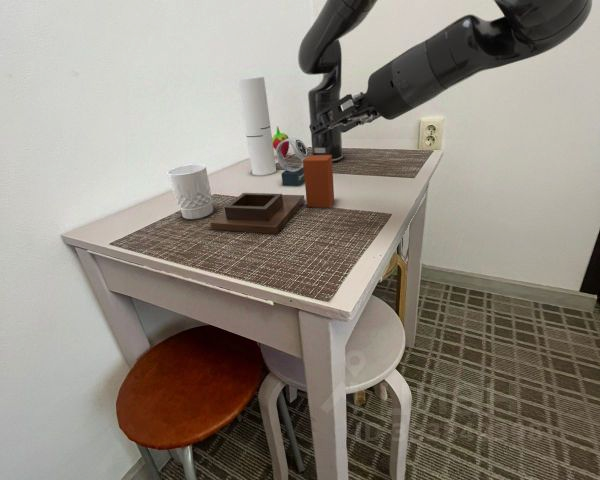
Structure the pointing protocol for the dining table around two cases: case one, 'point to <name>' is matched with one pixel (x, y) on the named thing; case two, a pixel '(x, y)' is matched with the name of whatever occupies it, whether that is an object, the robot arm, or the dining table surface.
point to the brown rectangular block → (319, 180)
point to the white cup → (191, 190)
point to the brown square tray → (258, 213)
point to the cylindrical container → (257, 125)
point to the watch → (292, 174)
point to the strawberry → (278, 139)
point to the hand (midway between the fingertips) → (326, 129)
